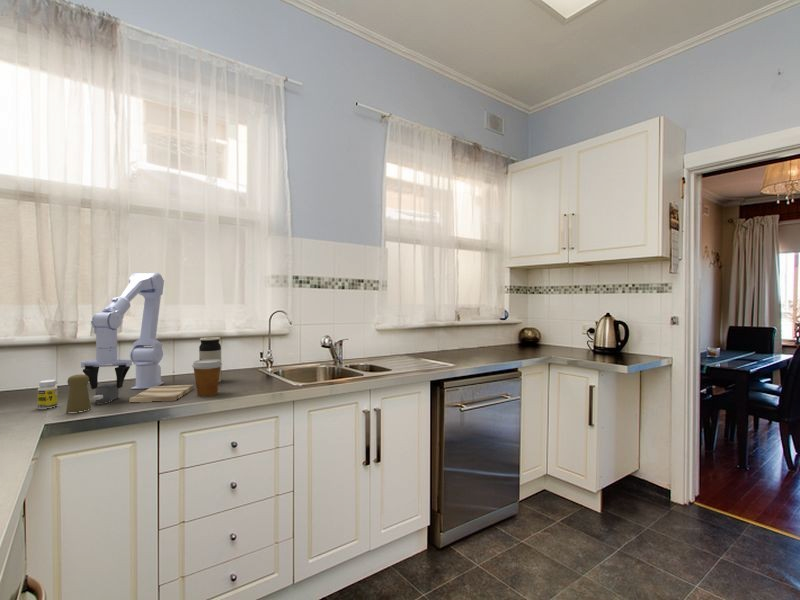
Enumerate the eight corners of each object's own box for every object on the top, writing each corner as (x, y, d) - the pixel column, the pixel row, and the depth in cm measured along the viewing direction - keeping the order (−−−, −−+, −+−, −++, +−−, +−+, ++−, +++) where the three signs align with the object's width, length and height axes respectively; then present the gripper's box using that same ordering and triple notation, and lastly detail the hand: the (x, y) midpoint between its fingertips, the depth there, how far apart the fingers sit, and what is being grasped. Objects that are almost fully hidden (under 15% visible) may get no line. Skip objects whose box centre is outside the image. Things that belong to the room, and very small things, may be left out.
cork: (88, 406, 127) (87, 372, 127) (93, 410, 123) (93, 374, 123) (63, 411, 122) (63, 375, 122) (68, 414, 119) (68, 377, 118)
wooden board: (153, 390, 149) (153, 386, 149) (193, 388, 152) (193, 384, 152) (129, 402, 132) (129, 398, 132) (175, 400, 134) (175, 396, 134)
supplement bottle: (34, 410, 124) (34, 383, 123) (41, 406, 128) (40, 380, 128) (54, 408, 125) (54, 381, 125) (60, 404, 130) (59, 378, 130)
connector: (108, 397, 139) (107, 383, 139) (120, 397, 140) (120, 382, 140) (88, 406, 128) (88, 390, 128) (102, 405, 129) (102, 390, 129)
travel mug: (222, 379, 168) (221, 336, 168) (220, 383, 161) (219, 338, 160) (201, 381, 166) (200, 337, 166) (198, 385, 158) (197, 339, 158)
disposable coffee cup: (218, 397, 139) (218, 362, 139) (188, 398, 137) (188, 363, 137) (224, 391, 148) (224, 358, 148) (196, 392, 146) (196, 359, 146)
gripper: (75, 349, 130) (75, 391, 130) (124, 348, 132) (124, 389, 132) (88, 347, 137) (88, 387, 137) (134, 346, 139) (135, 385, 139)
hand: (107, 388), depth 135 cm, fingers open, 7 cm apart
